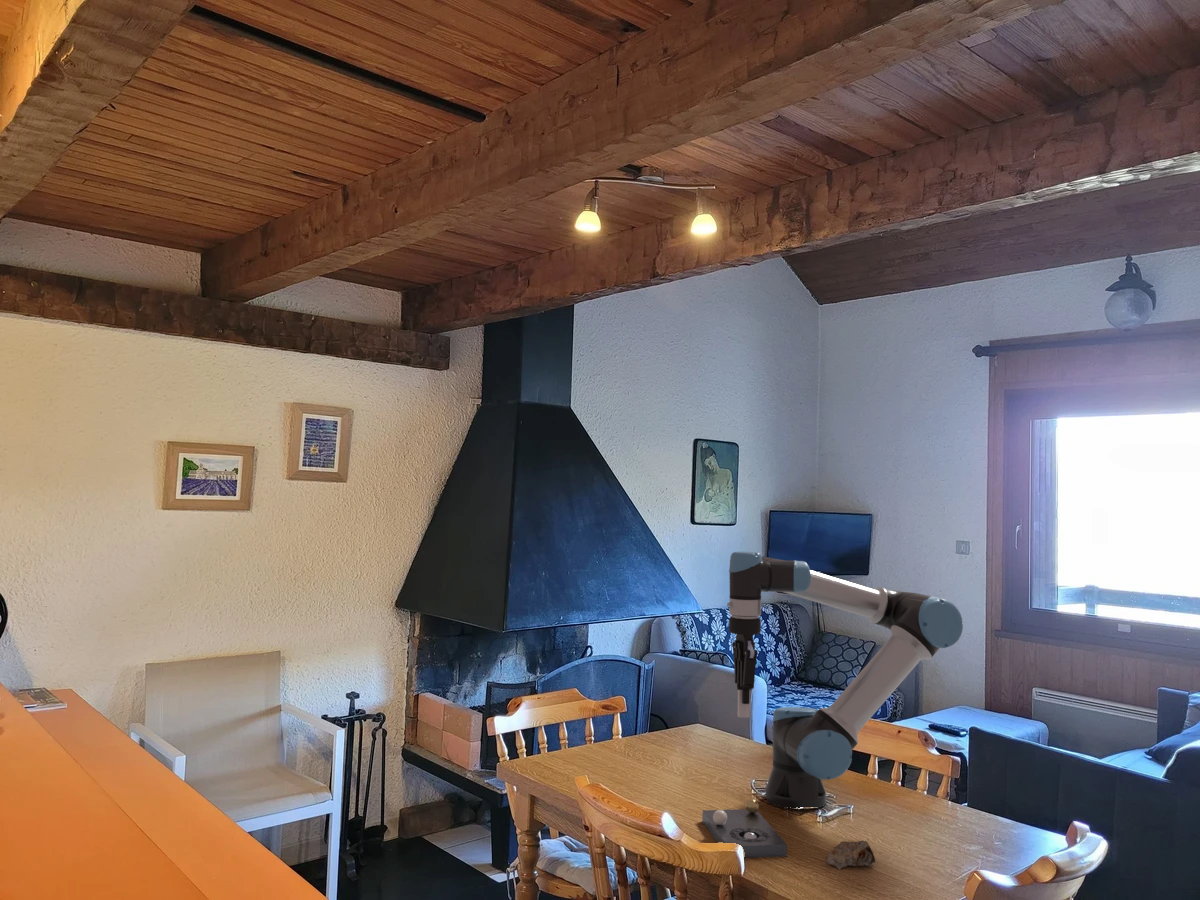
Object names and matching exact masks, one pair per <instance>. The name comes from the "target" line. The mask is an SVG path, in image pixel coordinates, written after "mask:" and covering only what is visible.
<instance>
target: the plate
mask: <svg viewBox="0 0 1200 900" xmlns="http://www.w3.org/2000/svg"><path fill="white" fill-rule="evenodd" d="M717 810H718V809H710V810H709V809H707V810H706V809H704V810H703V809H702V813H701V814H702V823H703V824H704V826H705V827H706V829H707V830H708V832H709V833H710V835H711V836H712V838H713V839H714V841H715V842H716V843H717V842H723V843H736V844H739V845H741V846H742V847H743V849H744V852H745V857H746V858H745V859H749V858H751V859H752V858H781V857H782V858H783V857H784V858H785V857H788V844H787V843H786V841H784V839H783V838H782V836H780V834H778V833H777V831H776V830H775V829H774V828H773V827H772V826H771V824H770V823H769V822H768V821H767V820H766V819H765V817H763V815H762V814H761V813H760V812H759V810H758V811H757V812H756V813H749V812H748V811H747V810H746V808H745V809H740V808H739V809H722V810H723V811H724V812H725V813H726V814H727V821H726V823H725V824H723V825H718V824H716V823H715V822H714V820H713V814H714V813H715V811H717ZM747 832H752V833H754V834H755V835H756V836H757V838H756V839H748V838H743V836H744V835H745V834H746V833H747Z"/></svg>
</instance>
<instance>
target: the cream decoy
mask: <svg viewBox="0 0 1200 900" xmlns="http://www.w3.org/2000/svg"><path fill="white" fill-rule="evenodd" d="M716 810H717V811H715V813H714V814H713V820H714V822H715V823H716V824H718V825H723V824H725V823H726V821H727V814H726V813H725V812H724V811H723V810H724V809H716Z"/></svg>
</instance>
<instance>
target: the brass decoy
mask: <svg viewBox="0 0 1200 900" xmlns="http://www.w3.org/2000/svg"><path fill="white" fill-rule="evenodd" d="M744 806H745V809H746V810H747V811H748V812H749V813H756V812H757V811H758V812H759V809H760V804H759V802H758V801H757V800H756V799H755V798H749V799H747V800H746V802H745V804H744Z"/></svg>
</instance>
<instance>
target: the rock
mask: <svg viewBox="0 0 1200 900" xmlns="http://www.w3.org/2000/svg"><path fill="white" fill-rule="evenodd" d="M869 844H870V843H868V841H866V840H859V841H851V840H850V841H840V842H839V843H838V844H837V845H835V846H834V847H833V849H832V850H831V851H830V852H828V854H827V856H826V861H825V862H826V863H827V864H829V865H830V866H834V867H836V868H837V869H839V870H842V869H844V868H845V867H853V866H854V867H856V866H861V867H866V866H867V867H872V865H873V864H874V863H875V862H876V857H875V855H874V852H873V850H872V848H871V846H870V845H869Z"/></svg>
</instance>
